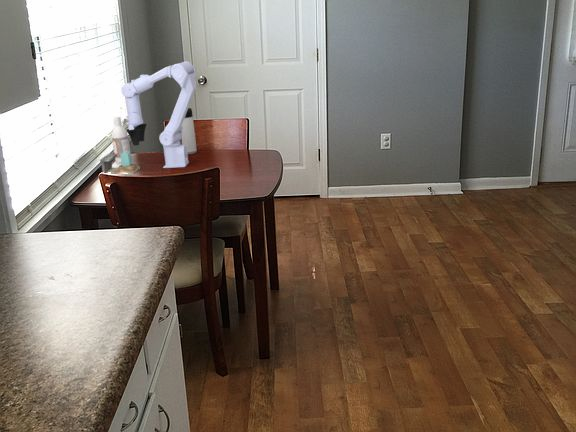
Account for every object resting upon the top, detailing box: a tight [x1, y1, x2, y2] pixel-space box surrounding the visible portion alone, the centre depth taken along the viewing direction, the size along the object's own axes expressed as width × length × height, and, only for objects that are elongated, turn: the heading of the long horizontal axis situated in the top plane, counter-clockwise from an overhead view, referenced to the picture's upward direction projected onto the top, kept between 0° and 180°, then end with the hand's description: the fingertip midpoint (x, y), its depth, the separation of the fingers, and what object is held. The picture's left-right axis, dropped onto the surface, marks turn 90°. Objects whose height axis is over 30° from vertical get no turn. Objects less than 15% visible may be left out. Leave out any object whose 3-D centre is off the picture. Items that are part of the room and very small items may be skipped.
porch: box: [99, 153, 141, 175], centre depth 270 cm, size 13×10×7 cm
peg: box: [120, 151, 133, 167], centre depth 270 cm, size 3×3×7 cm
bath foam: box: [111, 116, 132, 164], centre depth 286 cm, size 7×7×20 cm
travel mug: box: [181, 107, 198, 155], centre depth 294 cm, size 6×7×20 cm
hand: (138, 143), depth 277 cm, fingers open, 7 cm apart
